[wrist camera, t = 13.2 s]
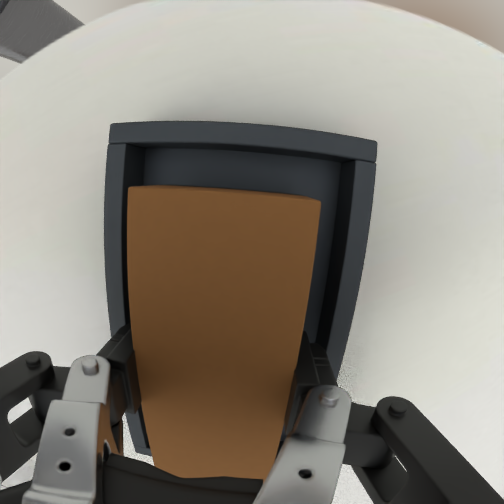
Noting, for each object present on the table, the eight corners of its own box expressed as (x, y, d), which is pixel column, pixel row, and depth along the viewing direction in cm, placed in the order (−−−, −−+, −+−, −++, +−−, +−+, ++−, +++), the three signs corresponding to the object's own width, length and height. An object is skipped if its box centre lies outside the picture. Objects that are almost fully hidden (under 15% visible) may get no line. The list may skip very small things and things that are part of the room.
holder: (135, 132, 12) (109, 123, 9) (357, 148, 12) (378, 141, 9) (147, 425, 15) (135, 452, 13) (301, 443, 15) (304, 473, 13)
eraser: (167, 184, 11) (127, 186, 7) (302, 194, 11) (322, 201, 7) (172, 425, 13) (156, 473, 10) (267, 436, 13) (267, 488, 10)
